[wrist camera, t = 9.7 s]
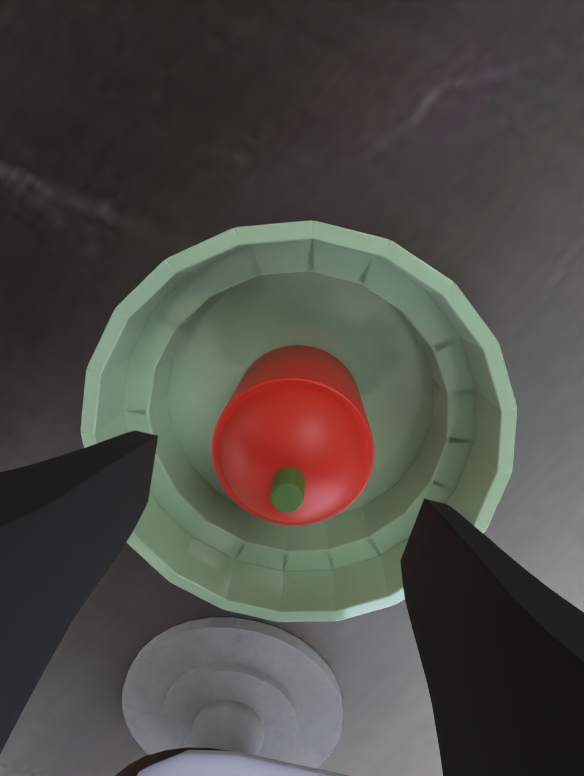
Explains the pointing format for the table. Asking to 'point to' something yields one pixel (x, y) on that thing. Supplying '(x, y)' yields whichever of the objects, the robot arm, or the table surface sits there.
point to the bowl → (377, 391)
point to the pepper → (294, 438)
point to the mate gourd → (231, 694)
